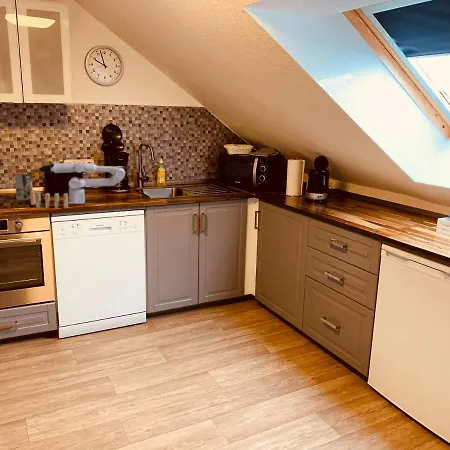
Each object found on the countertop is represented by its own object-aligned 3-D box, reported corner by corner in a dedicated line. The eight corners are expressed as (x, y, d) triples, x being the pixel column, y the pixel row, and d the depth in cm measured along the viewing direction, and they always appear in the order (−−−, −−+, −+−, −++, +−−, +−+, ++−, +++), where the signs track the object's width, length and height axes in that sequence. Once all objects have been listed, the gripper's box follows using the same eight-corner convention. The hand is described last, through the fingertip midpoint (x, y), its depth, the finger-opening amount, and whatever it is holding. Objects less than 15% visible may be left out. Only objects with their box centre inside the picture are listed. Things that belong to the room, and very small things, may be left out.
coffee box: (25, 200, 301) (23, 175, 297) (16, 199, 302) (14, 174, 298) (33, 198, 310) (32, 173, 306) (24, 197, 311) (23, 172, 307)
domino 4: (68, 206, 288) (67, 193, 286) (66, 208, 283) (66, 194, 281) (65, 206, 288) (64, 193, 286) (64, 208, 283) (63, 194, 281)
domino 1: (41, 206, 285) (40, 193, 283) (39, 207, 280) (38, 194, 279) (38, 206, 285) (37, 193, 283) (36, 207, 280) (35, 194, 278)
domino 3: (59, 206, 287) (58, 193, 285) (57, 208, 282) (57, 194, 280) (56, 206, 287) (55, 193, 285) (54, 207, 282) (54, 194, 280)
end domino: (35, 203, 294) (34, 190, 292) (33, 204, 289) (33, 191, 287) (33, 203, 294) (32, 190, 292) (31, 204, 289) (30, 191, 287)
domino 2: (50, 206, 286) (49, 193, 284) (48, 207, 281) (47, 194, 280) (47, 206, 286) (46, 193, 284) (45, 207, 281) (45, 194, 279)
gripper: (64, 160, 300) (42, 161, 297) (61, 162, 286) (37, 163, 284) (65, 171, 301) (43, 172, 299) (62, 174, 287) (38, 175, 285)
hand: (40, 168), depth 291 cm, fingers open, 7 cm apart
